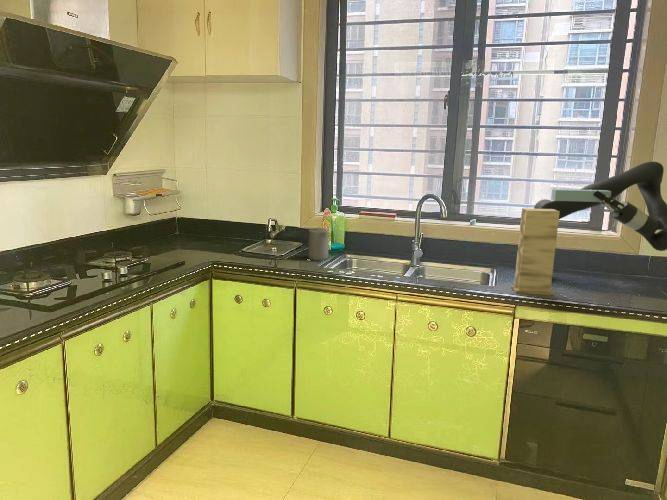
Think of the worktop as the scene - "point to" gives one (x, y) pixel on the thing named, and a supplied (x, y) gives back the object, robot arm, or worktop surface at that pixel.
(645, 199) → the robot arm
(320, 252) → the pillar candle
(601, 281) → the worktop surface
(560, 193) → the slate bar
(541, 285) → the oak block
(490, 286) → the worktop surface
